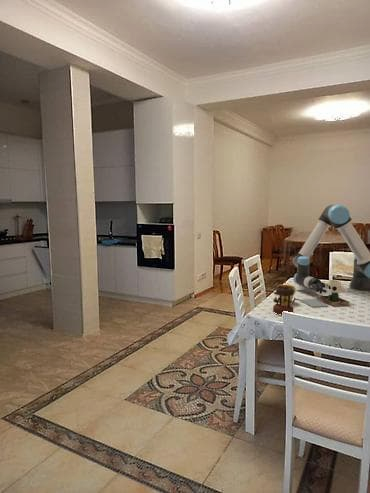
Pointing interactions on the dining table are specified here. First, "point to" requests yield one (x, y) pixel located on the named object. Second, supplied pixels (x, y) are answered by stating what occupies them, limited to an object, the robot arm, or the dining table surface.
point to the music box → (284, 292)
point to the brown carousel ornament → (287, 296)
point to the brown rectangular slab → (340, 303)
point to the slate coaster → (313, 303)
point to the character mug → (334, 289)
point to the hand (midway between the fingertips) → (339, 291)
